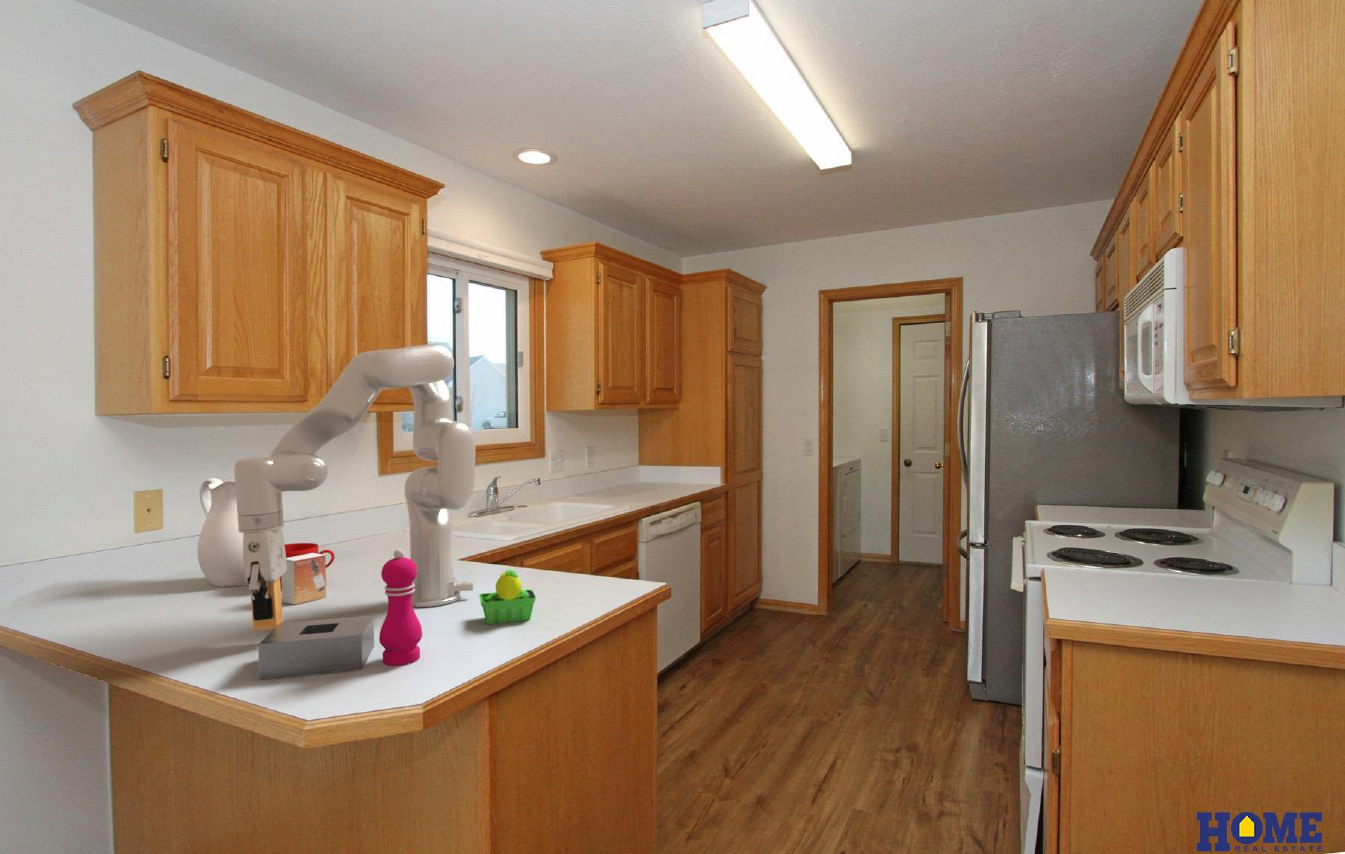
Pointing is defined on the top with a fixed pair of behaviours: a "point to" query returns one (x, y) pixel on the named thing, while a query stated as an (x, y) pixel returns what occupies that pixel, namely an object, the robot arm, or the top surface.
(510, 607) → the fruit basket
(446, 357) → the robot arm
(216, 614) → the top surface
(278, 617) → the wedge peg
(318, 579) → the small box
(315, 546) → the ceramic cup
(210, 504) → the pitcher
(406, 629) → the pepper mill
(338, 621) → the socket block
